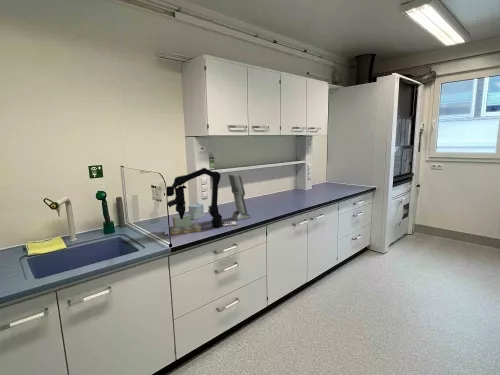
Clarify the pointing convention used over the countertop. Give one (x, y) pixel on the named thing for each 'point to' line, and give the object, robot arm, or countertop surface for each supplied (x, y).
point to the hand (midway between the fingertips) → (181, 217)
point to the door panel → (182, 221)
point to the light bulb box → (196, 211)
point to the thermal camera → (238, 197)
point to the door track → (185, 229)
